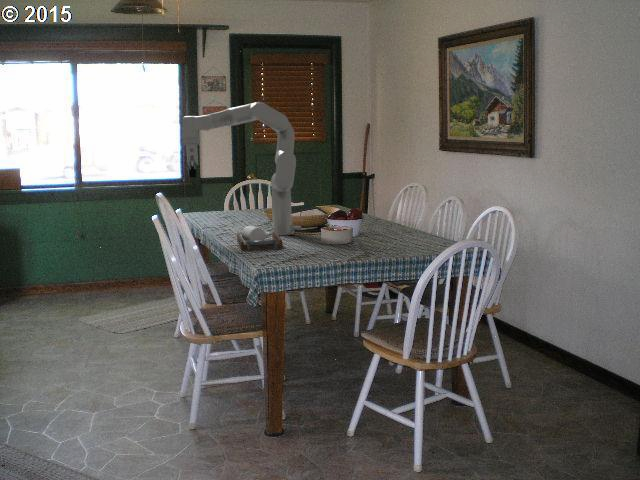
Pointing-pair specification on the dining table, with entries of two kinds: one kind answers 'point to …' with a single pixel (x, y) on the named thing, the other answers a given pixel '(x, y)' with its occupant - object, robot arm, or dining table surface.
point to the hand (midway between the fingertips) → (192, 176)
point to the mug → (254, 233)
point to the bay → (260, 243)
